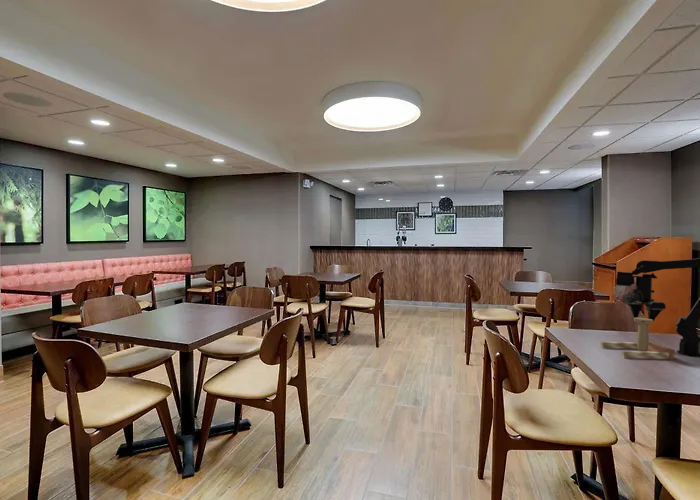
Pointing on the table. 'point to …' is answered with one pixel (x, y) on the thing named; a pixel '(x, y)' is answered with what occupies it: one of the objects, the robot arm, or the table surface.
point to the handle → (643, 333)
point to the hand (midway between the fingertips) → (642, 321)
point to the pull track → (654, 348)
